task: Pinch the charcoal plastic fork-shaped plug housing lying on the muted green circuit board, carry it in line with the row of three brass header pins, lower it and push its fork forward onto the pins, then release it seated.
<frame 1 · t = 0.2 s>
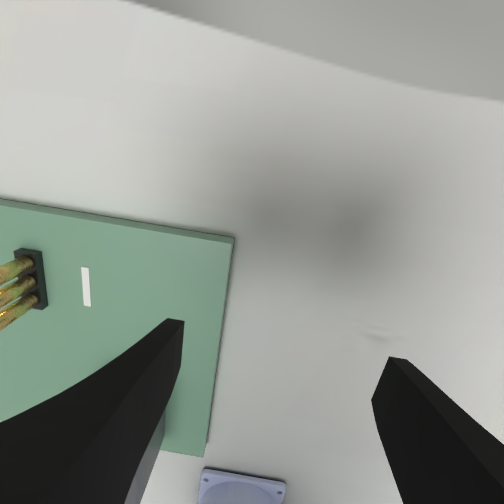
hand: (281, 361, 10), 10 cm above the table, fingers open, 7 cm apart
circuit board: (104, 338, 23), on the table
plug housing: (135, 403, 24), point 1 cm above the table, touching circuit board
pin header: (35, 277, 20), resting on circuit board
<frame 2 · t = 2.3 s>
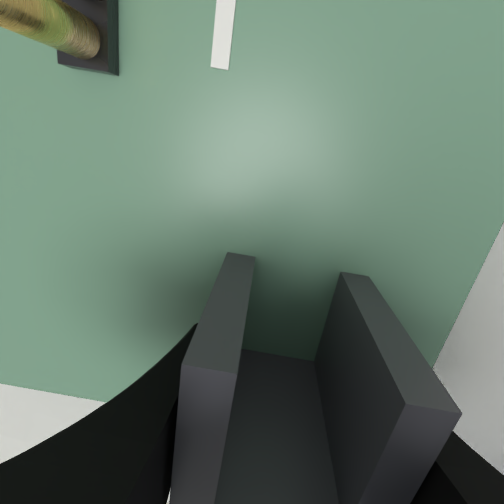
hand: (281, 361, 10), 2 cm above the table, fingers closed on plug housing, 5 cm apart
circuit board: (224, 193, 11), on the table
plug housing: (280, 339, 12), point 1 cm above the table, touching circuit board, gripper
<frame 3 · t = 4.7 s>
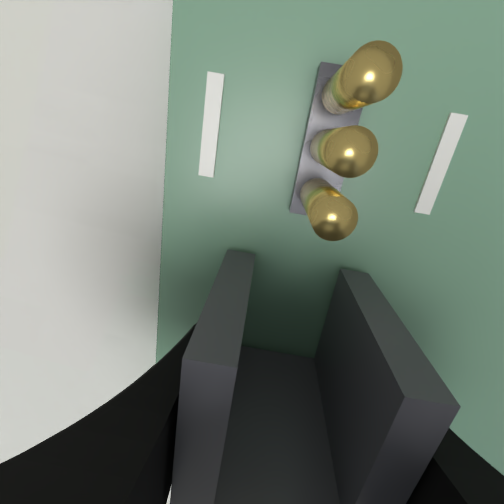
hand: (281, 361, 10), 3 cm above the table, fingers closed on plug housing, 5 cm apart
circuit board: (384, 293, 12), on the table
plug housing: (280, 336, 12), point 2 cm above the table, touching gripper
pin header: (324, 147, 9), resting on circuit board
when the fingers open (3 cm above the table, at t = 7.1 s): plug housing stays where it is, resting on circuit board.
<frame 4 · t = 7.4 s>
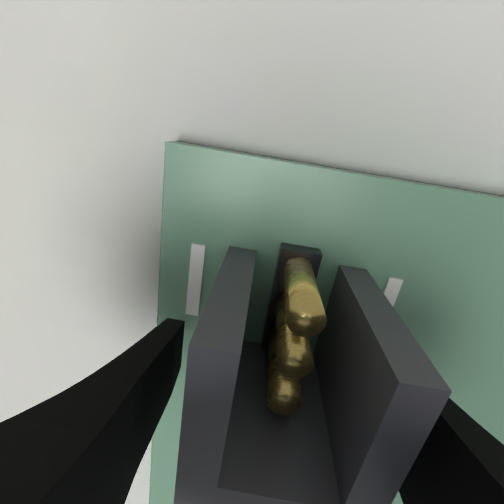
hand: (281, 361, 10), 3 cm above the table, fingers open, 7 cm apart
circuit board: (347, 391, 14), on the table
plug housing: (280, 331, 12), point 1 cm above the table, touching circuit board
pin header: (288, 296, 11), resting on circuit board
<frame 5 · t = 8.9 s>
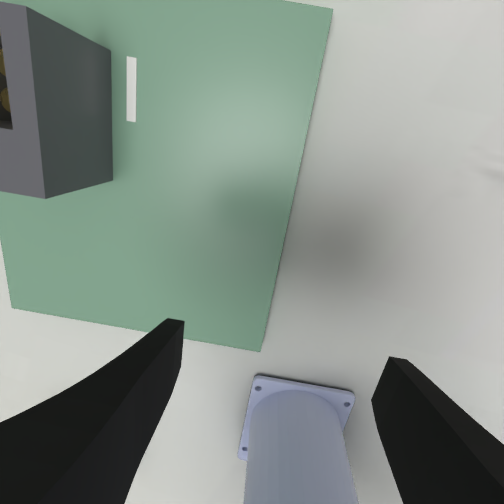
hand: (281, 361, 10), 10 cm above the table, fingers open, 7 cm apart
circuit board: (146, 187, 19), on the table
plug housing: (66, 112, 16), point 1 cm above the table, touching circuit board
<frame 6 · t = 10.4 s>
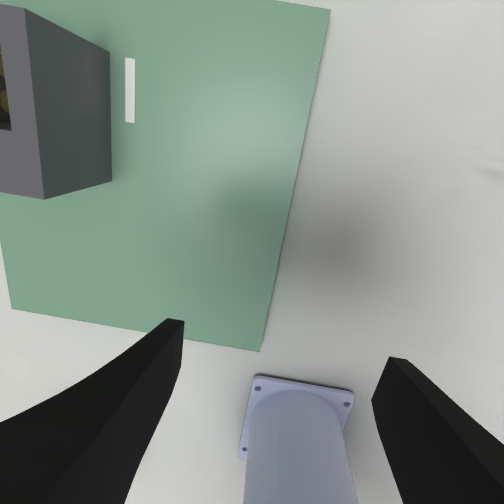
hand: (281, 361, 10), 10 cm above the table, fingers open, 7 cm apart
circuit board: (145, 188, 19), on the table
plug housing: (66, 113, 16), point 1 cm above the table, touching circuit board
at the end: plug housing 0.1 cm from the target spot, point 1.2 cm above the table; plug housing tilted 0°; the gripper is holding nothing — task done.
